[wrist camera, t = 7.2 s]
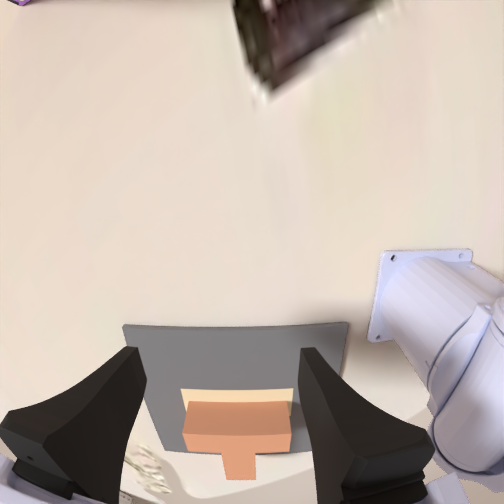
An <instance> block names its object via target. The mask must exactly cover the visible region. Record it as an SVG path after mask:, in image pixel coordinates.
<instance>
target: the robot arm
mask: <svg viewBox="0 0 504 504" xmlns="http://www.w3.org/2000/svg"><path fill="white" fill-rule="evenodd" d="M460 254H461V255H460ZM393 255H395V257H394V259H393V260H391V257H392V256H393ZM459 255H460V257H459ZM471 259H472V251H471V250H470V249H437V250H396V251H384V252H383V253H382V254H381V257H380V264H379V271H378V278H377V285H376V291H375V297H374V303H373V309H372V314H371V319H370V325H369V330H368V334H367V339H368V341H369V342H370V343H375V342H382V341H390V340H395V341H396V343H397V344H398V346H399V347H400V349H401V350H402V352H403V353H404V355H405V356H406V358H407V359H408V361H409V362H410V364H411V365H412V367H413V368H414V370H415V371H416V373H417V374H418V376H419V377H420V379H421V381H422V382H423V384H424V385H425V387H426V388H427V390H428V392H429V393H430V399H429V401H428V403H427V407H428V408H429V410H430V412H431V414H432V415H433V417H434V418H433V419H432V421H431V422H430V424H429V426H428V430H427V431H426V430H425V429H423V428H420V427H418V426H415V425H412V424H410V423H407V422H404V421H402V420H400V419H398V418H396V417H394V416H392V415H390V414H388V413H386V412H384V411H383V410H381V409H379V408H378V407H376V406H374V405H373V404H371V403H370V402H369V401H367V400H366V399H364V398H363V397H362V396H361V395H359V394H358V393H357V392H356V391H355V390H353V389H352V388H351V387H350V386H349V385H348V384H347V383H346V382H345V381H344V380H343V379H342V378H341V377H340V376H339V375H338V374H337V373H336V372H335V371H334V370H333V368H332V367H331V366H330V365H329V364H328V363H327V361H326V360H325V359H324V358H323V356H322V355H321V354H320V353H319V351H318V350H317V349H316V348H315V347H307V348H301V349H300V361H299V371H298V381H297V382H298V391H299V398H300V403H301V407H302V411H303V415H304V419H305V423H306V426H307V430H308V434H309V438H310V442H311V447H312V454H313V462H314V470H315V479H316V490H317V501H318V504H470V502H469V500H468V497H467V495H466V493H465V491H464V489H463V487H462V485H461V483H460V480H459V479H464V480H470V481H474V482H478V483H480V484H482V485H484V486H485V487H487V488H488V489H490V490H491V491H492V492H495V493H496V492H497V493H498V492H504V283H503V282H501V281H500V280H498V279H497V278H495V277H494V276H492V275H491V274H489V273H488V272H486V271H485V270H483V269H482V268H480V267H478V266H477V265H475V264H474V263H472V262H471ZM378 335H380V336H379V337H377V336H378ZM376 337H377V338H376ZM146 384H147V377H146V374H145V371H144V367H143V364H142V360H141V357H140V353H139V349H138V347H131V346H125V347H124V348H123V349H121V350H120V351H119V352H118V353H117V354H115V355H114V356H113V357H112V358H111V359H109V360H108V361H107V362H106V363H104V364H103V365H102V366H101V367H100V368H98V369H97V370H96V371H94V372H93V373H92V374H90V375H89V376H88V377H86V378H85V379H84V380H82V381H81V382H79V383H78V384H76V385H75V386H73V387H71V388H70V389H68V390H66V391H64V392H63V393H61V394H58V395H56V396H54V397H52V398H50V399H48V400H45V401H43V402H40V403H37V404H34V405H31V406H28V407H24V408H20V409H16V410H11V411H9V412H8V413H7V415H6V416H5V418H4V419H3V421H2V422H1V424H0V437H1V439H2V440H3V442H4V443H5V444H6V445H7V447H8V448H9V449H10V450H11V451H12V453H13V454H14V455H15V456H16V457H17V460H16V462H14V461H13V460H11V459H10V458H8V457H6V456H5V455H3V454H1V453H0V504H119V494H120V483H121V474H122V468H123V462H124V456H125V452H126V447H127V442H128V439H129V436H130V433H131V430H132V427H133V425H134V422H135V419H136V417H137V414H138V411H139V409H140V406H141V403H142V400H143V397H144V393H145V389H146ZM431 458H433V459H434V461H435V462H436V464H437V465H438V466H439V467H440V468H441V469H442V470H444V471H445V472H446V473H448V475H445V476H443V477H440V478H438V479H436V480H434V481H431V482H429V483H428V484H427V485H424V482H423V479H424V478H425V475H424V472H423V468H424V467H425V466H426V465H427V464H428V462H429V461H430V460H431Z"/></svg>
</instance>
